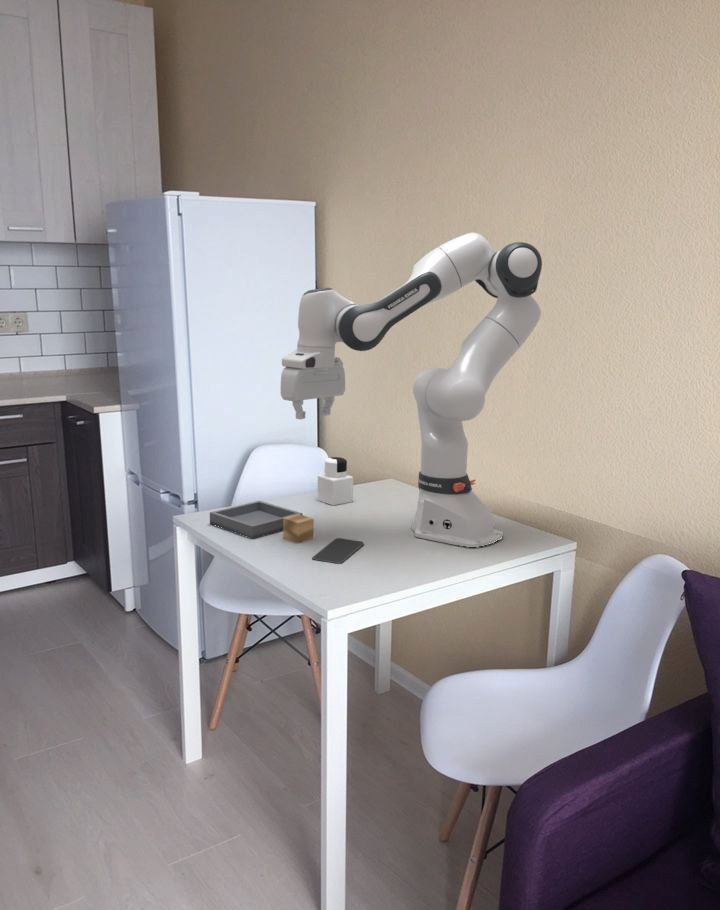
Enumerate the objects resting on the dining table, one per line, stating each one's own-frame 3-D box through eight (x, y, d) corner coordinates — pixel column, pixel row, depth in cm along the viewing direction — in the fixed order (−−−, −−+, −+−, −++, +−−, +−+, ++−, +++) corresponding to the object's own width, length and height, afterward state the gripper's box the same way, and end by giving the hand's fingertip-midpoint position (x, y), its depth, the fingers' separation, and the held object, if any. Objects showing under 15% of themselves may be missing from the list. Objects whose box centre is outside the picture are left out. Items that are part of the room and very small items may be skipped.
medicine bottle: (337, 496, 227) (338, 454, 224) (353, 501, 221) (354, 459, 219) (316, 500, 222) (317, 457, 220) (332, 505, 217) (333, 462, 214)
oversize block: (313, 539, 189) (313, 518, 188) (298, 543, 185) (298, 522, 184) (298, 534, 192) (298, 514, 191) (283, 538, 189) (283, 518, 187)
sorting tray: (302, 525, 199) (302, 513, 198) (252, 539, 187) (252, 526, 187) (259, 511, 210) (259, 500, 209) (209, 524, 198) (209, 512, 197)
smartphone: (309, 558, 174) (335, 537, 188) (309, 562, 175) (335, 541, 188) (341, 563, 172) (365, 541, 186) (341, 567, 172) (365, 545, 186)
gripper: (332, 355, 199) (329, 411, 201) (276, 358, 182) (274, 419, 185) (352, 358, 195) (350, 414, 198) (298, 361, 179) (295, 423, 181)
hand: (313, 416), depth 191 cm, fingers open, 8 cm apart
